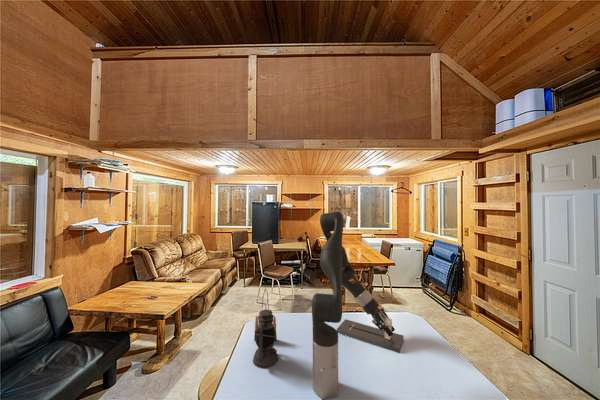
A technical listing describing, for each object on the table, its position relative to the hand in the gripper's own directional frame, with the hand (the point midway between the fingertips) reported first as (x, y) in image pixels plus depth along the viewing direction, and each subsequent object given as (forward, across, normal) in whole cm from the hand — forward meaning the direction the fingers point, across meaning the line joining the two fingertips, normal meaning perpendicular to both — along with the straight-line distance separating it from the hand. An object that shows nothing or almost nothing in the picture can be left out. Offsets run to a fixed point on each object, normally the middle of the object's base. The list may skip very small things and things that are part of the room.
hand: (392, 332), depth 110 cm
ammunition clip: (-34, -30, +41) cm, 61 cm away
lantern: (-27, -41, +34) cm, 60 cm away
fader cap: (0, 0, +3) cm, 3 cm away
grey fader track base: (-4, 0, +11) cm, 12 cm away
